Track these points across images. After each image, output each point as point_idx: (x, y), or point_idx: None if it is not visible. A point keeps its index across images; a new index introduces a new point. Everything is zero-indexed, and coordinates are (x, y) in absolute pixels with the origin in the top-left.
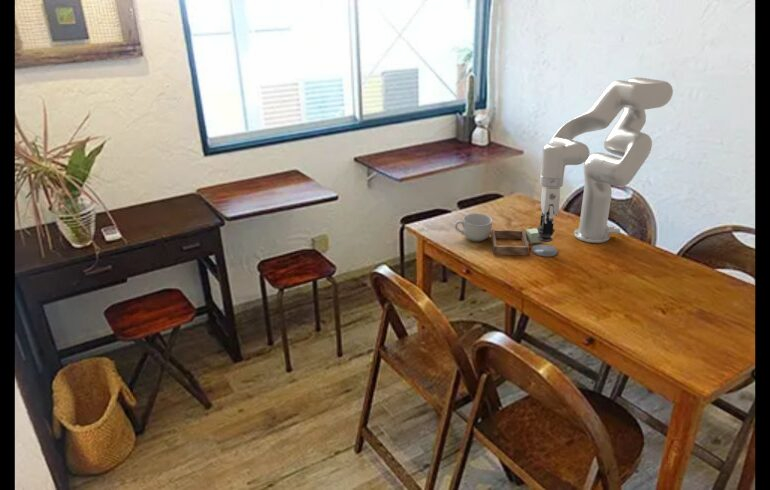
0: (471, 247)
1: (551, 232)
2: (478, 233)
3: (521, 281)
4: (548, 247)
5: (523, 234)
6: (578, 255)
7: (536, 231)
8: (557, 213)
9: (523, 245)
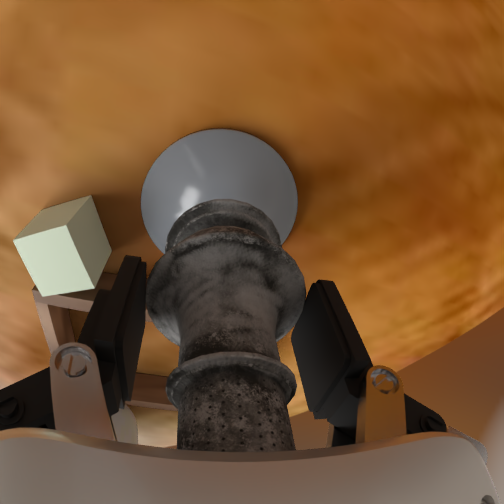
0: (170, 418)
1: (333, 295)
2: (137, 439)
3: (429, 336)
4: (188, 176)
5: (85, 308)
6: (309, 25)
7: (56, 250)
8: (482, 465)
9: None
